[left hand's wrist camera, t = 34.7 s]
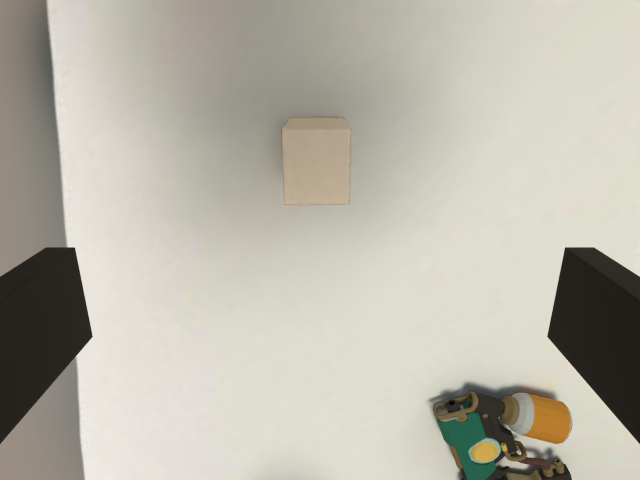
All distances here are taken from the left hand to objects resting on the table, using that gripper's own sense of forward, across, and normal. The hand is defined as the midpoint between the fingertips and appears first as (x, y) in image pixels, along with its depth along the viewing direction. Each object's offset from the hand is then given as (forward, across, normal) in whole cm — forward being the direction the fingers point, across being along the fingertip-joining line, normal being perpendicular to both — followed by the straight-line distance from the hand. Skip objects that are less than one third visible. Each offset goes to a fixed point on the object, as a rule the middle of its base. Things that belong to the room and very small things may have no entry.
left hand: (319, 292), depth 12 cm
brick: (+29, 0, 0) cm, 29 cm away
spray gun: (+29, +20, -33) cm, 48 cm away
